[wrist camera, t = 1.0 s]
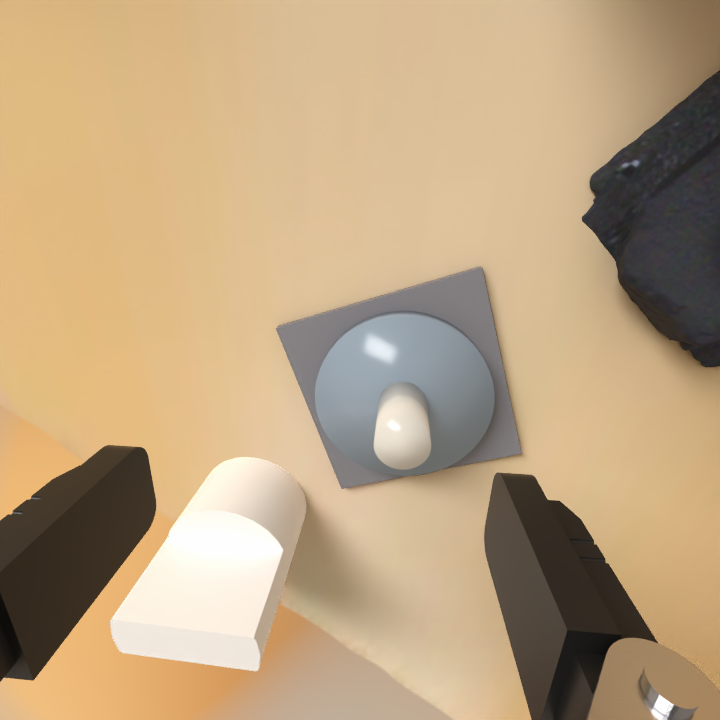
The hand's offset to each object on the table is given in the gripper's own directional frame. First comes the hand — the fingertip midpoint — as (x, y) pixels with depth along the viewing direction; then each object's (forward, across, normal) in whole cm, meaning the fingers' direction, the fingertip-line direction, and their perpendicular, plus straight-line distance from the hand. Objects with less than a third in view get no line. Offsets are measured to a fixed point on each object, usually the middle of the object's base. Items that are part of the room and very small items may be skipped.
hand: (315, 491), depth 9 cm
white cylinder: (+20, +9, +17) cm, 28 cm away
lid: (+18, -3, +6) cm, 20 cm away
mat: (+19, -3, +6) cm, 20 cm away
